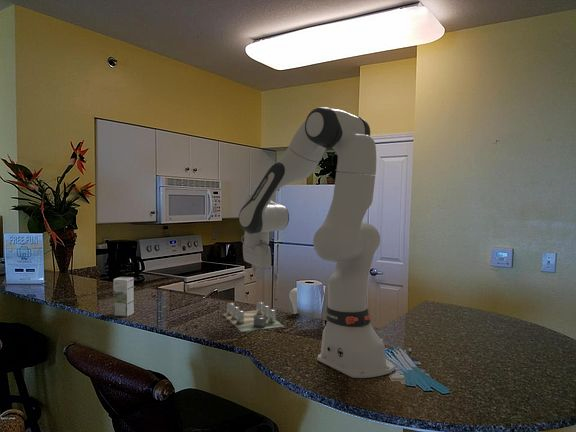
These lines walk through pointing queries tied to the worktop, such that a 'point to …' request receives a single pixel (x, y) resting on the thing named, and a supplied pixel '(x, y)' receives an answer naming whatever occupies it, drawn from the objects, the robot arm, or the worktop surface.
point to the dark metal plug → (259, 322)
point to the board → (251, 322)
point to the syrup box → (123, 296)
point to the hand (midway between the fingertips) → (256, 277)
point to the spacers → (261, 310)
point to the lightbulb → (294, 299)
